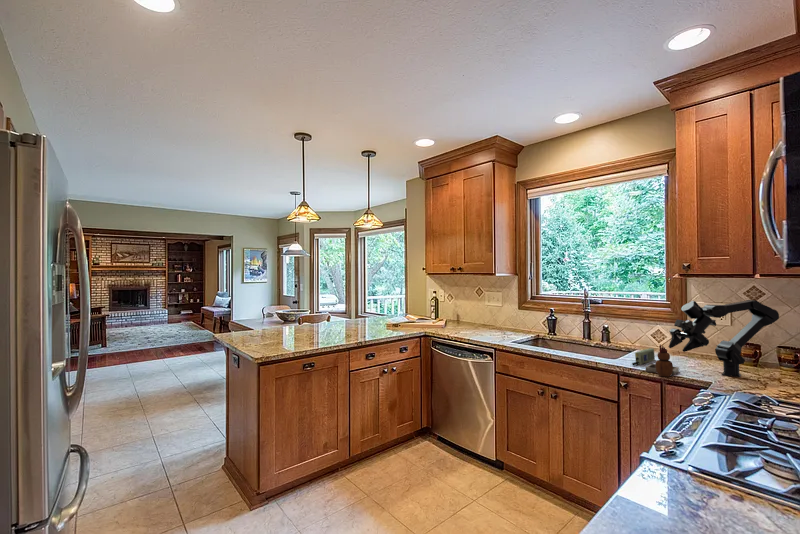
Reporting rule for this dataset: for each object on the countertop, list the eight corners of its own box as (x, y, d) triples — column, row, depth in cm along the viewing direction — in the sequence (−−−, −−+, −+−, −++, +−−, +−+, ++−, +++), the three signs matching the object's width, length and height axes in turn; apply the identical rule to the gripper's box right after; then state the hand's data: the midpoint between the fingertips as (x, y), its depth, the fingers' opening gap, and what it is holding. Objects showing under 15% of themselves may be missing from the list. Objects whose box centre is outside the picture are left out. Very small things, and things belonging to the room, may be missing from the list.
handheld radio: (656, 360, 216) (637, 367, 201) (649, 359, 218) (630, 366, 203) (655, 348, 216) (636, 354, 201) (648, 348, 219) (629, 353, 204)
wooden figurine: (659, 377, 179) (658, 345, 179) (653, 374, 184) (652, 343, 185) (675, 377, 178) (674, 345, 178) (669, 374, 183) (667, 343, 184)
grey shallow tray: (651, 367, 198) (651, 363, 198) (678, 371, 190) (678, 367, 190) (645, 371, 191) (645, 367, 191) (673, 375, 182) (673, 371, 182)
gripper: (672, 312, 191) (650, 334, 191) (701, 315, 173) (677, 340, 172) (689, 327, 191) (667, 350, 191) (719, 333, 172) (695, 358, 172)
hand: (676, 349), depth 181 cm, fingers open, 9 cm apart
